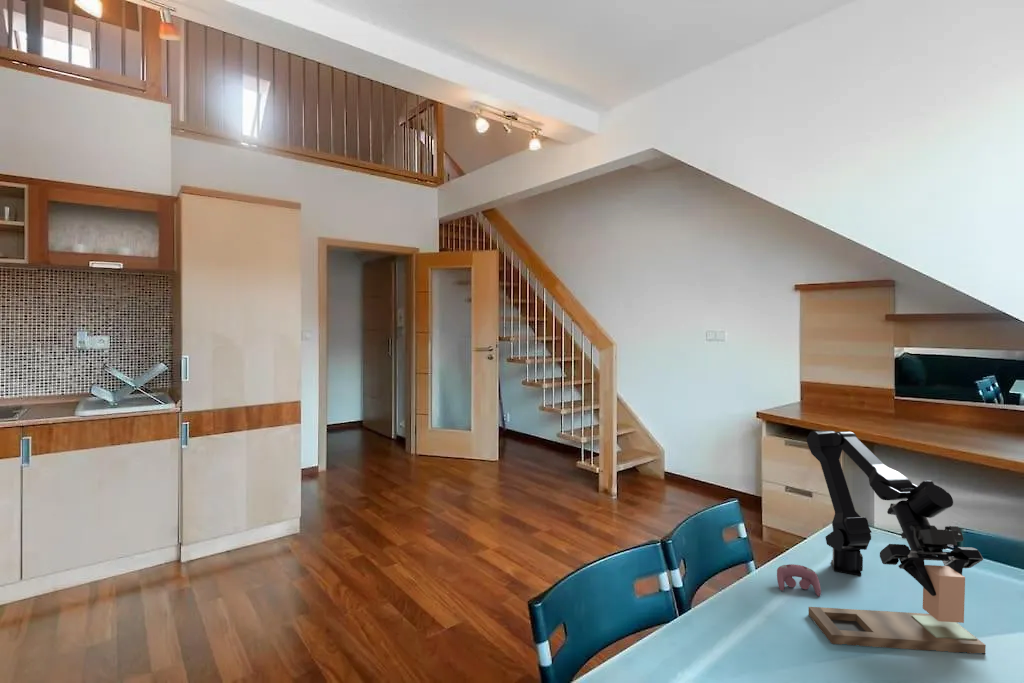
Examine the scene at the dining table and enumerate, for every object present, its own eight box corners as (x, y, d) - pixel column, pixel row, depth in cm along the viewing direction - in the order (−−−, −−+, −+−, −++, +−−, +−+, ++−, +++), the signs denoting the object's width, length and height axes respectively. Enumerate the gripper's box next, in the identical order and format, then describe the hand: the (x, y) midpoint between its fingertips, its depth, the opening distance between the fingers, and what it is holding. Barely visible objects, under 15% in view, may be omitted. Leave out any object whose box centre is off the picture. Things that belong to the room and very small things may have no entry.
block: (938, 621, 109) (939, 575, 109) (922, 608, 114) (923, 564, 114) (963, 622, 109) (965, 577, 108) (946, 609, 114) (948, 566, 113)
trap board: (831, 643, 109) (831, 633, 109) (808, 614, 120) (808, 605, 120) (985, 654, 106) (985, 643, 106) (946, 623, 117) (947, 613, 117)
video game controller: (818, 596, 131) (815, 567, 134) (823, 597, 127) (820, 566, 130) (776, 590, 134) (774, 562, 137) (779, 590, 130) (777, 561, 133)
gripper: (888, 509, 116) (919, 581, 105) (978, 513, 114) (1019, 586, 103) (867, 529, 124) (894, 597, 113) (951, 532, 122) (986, 603, 111)
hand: (947, 596), depth 110 cm, fingers closed on block, 5 cm apart
